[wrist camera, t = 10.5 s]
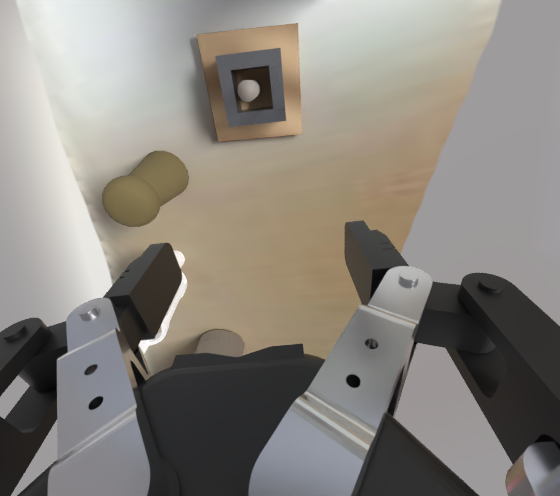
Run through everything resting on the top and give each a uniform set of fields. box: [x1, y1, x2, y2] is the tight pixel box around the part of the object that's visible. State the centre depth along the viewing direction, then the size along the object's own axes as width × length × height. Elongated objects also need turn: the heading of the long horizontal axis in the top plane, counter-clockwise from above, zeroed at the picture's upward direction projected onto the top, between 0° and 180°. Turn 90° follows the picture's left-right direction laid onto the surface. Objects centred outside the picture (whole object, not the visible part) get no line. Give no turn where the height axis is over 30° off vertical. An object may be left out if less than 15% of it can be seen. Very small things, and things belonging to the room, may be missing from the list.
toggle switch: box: [197, 23, 302, 142], centre depth 26 cm, size 10×10×8 cm
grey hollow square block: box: [215, 48, 286, 127], centre depth 27 cm, size 6×6×4 cm
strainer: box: [139, 250, 187, 353], centre depth 36 cm, size 7×7×15 cm
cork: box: [102, 151, 189, 227], centre depth 30 cm, size 6×6×11 cm
